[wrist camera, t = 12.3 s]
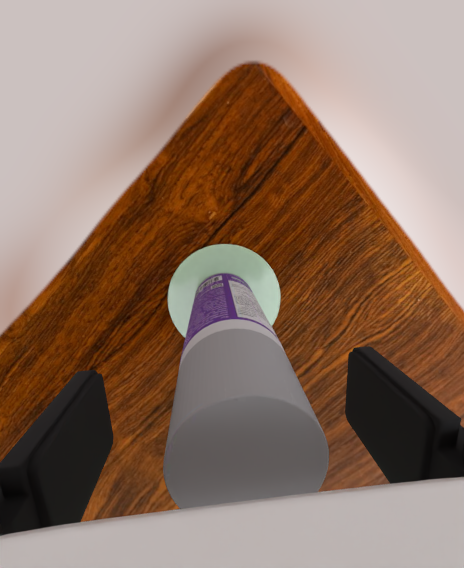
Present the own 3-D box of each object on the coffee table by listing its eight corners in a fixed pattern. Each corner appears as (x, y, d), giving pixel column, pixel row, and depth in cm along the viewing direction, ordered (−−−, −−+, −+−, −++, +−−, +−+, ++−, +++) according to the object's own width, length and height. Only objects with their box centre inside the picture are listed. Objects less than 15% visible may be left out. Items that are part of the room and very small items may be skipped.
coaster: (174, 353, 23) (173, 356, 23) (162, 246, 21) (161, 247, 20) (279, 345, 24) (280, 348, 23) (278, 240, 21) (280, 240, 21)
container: (196, 330, 22) (167, 544, 8) (191, 273, 21) (147, 398, 7) (253, 326, 22) (330, 525, 8) (252, 270, 21) (338, 382, 7)
